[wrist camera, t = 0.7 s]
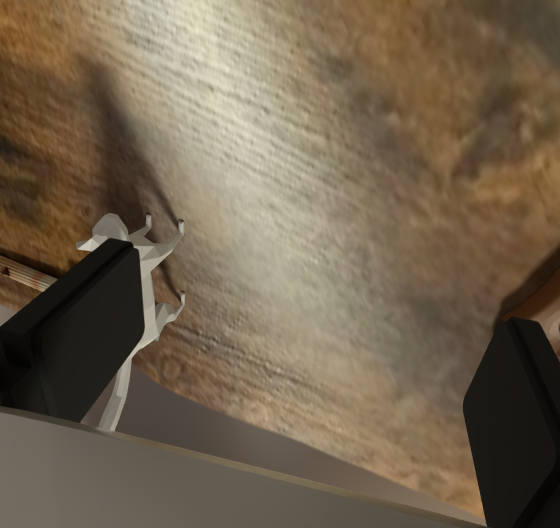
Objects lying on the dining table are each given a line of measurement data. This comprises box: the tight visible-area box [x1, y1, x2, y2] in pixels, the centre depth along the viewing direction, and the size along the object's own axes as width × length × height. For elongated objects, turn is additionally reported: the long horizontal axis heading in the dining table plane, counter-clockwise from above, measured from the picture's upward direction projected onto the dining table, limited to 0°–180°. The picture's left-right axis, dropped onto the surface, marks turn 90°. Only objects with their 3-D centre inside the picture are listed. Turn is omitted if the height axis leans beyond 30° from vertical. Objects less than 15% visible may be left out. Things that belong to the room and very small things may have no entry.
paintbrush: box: [0, 255, 159, 341], centre depth 47 cm, size 4×3×20 cm
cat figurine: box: [76, 213, 185, 431], centre depth 38 cm, size 4×20×14 cm, turn 173°
